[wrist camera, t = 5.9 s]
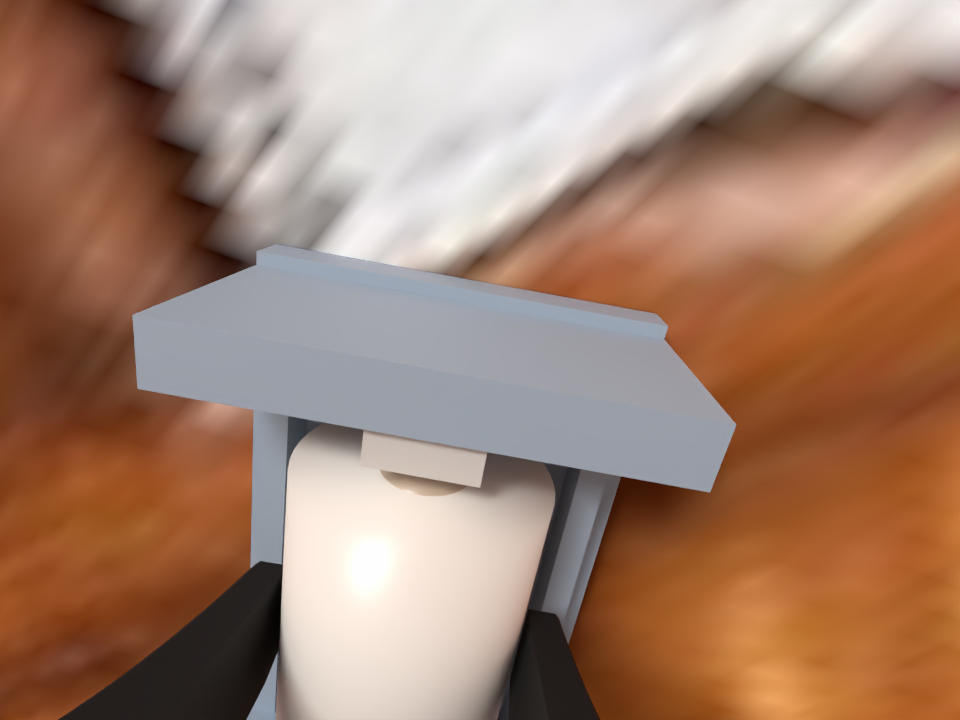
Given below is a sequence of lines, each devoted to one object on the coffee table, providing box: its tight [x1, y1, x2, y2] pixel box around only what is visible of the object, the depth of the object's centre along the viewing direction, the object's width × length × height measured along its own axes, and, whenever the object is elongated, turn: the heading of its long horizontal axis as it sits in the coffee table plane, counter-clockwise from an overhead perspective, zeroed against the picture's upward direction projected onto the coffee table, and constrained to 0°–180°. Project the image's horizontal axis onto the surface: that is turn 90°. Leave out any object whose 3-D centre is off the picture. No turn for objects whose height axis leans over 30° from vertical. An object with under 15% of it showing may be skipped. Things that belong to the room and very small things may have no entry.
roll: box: [276, 423, 555, 720], centre depth 12 cm, size 8×5×5 cm, turn 170°
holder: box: [133, 244, 736, 720], centre depth 12 cm, size 14×9×5 cm, turn 170°
